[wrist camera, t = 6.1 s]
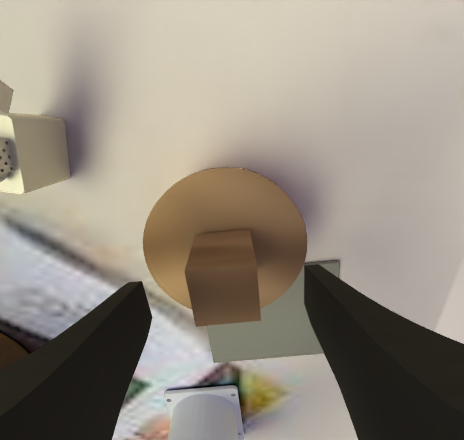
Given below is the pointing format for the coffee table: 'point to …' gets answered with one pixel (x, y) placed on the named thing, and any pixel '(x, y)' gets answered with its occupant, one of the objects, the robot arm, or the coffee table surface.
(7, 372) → the robot arm
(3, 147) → the lighter
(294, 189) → the coffee table surface
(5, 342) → the wooden container
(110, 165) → the coffee table surface
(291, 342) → the mat
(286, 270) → the lid
